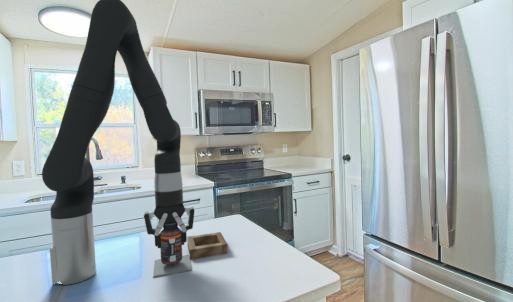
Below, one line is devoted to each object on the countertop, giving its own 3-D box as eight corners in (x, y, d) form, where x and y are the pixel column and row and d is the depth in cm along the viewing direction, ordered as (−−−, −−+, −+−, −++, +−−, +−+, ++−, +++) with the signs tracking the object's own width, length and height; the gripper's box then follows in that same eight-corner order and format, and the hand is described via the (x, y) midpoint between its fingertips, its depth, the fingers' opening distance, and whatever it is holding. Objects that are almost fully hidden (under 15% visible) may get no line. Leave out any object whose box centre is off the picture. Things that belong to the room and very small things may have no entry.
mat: (153, 277, 72) (153, 276, 72) (154, 261, 81) (154, 260, 81) (191, 270, 75) (191, 269, 75) (188, 255, 84) (188, 254, 84)
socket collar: (190, 259, 82) (189, 249, 82) (187, 245, 93) (187, 236, 93) (227, 253, 85) (227, 244, 85) (220, 240, 96) (220, 232, 96)
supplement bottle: (178, 265, 75) (177, 225, 74) (157, 266, 75) (155, 226, 74) (185, 256, 81) (183, 219, 80) (165, 256, 81) (163, 219, 80)
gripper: (140, 192, 71) (143, 255, 72) (195, 188, 76) (198, 246, 76) (142, 187, 78) (145, 244, 79) (193, 183, 83) (195, 237, 84)
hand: (171, 245), depth 78 cm, fingers closed on supplement bottle, 6 cm apart
